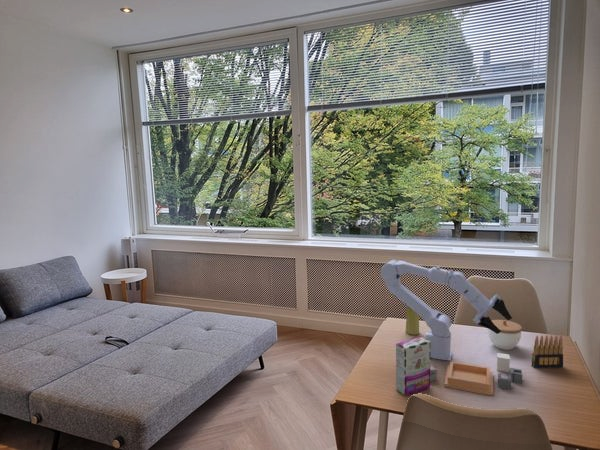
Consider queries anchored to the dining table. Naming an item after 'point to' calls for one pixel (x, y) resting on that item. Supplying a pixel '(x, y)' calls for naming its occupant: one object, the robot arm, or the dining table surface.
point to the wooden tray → (469, 378)
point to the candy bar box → (412, 366)
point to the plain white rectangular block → (503, 362)
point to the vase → (412, 322)
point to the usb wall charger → (433, 373)
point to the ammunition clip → (548, 353)
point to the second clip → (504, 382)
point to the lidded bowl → (505, 334)
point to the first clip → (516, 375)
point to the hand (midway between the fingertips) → (504, 325)
